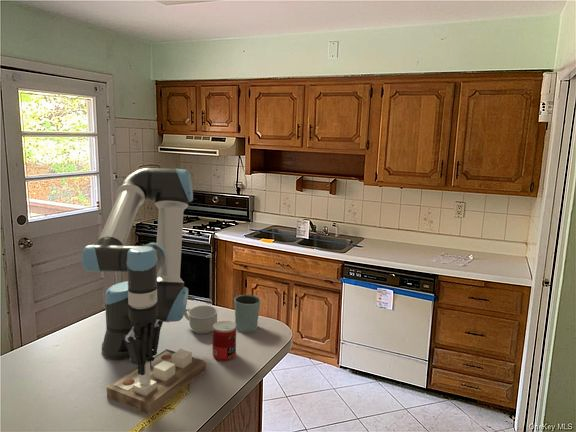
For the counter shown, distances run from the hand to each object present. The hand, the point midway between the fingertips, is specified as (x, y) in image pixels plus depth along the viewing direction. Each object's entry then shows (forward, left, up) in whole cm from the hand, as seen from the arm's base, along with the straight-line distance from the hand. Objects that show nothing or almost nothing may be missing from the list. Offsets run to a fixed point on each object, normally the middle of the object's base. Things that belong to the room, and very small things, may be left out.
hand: (144, 382), depth 120 cm
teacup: (-13, +43, -5) cm, 45 cm away
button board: (-2, +8, -5) cm, 10 cm away
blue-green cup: (+2, +53, -5) cm, 53 cm away
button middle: (0, +8, -3) cm, 9 cm away
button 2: (0, +16, -3) cm, 16 cm away
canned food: (+6, +31, -5) cm, 32 cm away
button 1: (0, 0, -5) cm, 5 cm away
